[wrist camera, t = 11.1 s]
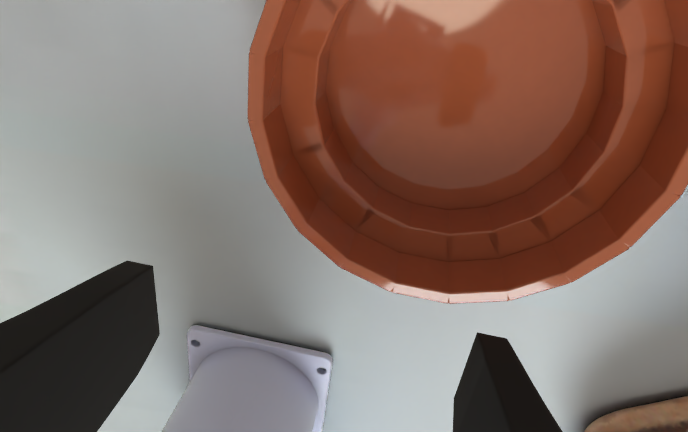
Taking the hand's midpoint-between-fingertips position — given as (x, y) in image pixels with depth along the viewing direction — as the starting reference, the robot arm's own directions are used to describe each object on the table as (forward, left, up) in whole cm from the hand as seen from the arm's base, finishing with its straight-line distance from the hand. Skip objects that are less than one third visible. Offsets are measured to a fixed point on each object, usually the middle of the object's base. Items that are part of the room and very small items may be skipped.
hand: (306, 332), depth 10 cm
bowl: (+3, -3, -10) cm, 11 cm away
